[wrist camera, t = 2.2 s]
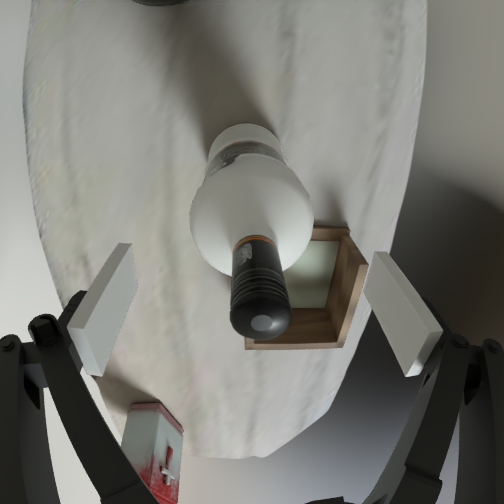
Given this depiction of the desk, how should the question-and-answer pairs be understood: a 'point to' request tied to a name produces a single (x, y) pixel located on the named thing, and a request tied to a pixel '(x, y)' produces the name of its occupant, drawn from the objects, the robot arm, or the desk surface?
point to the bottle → (154, 449)
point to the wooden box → (321, 293)
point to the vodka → (252, 225)
